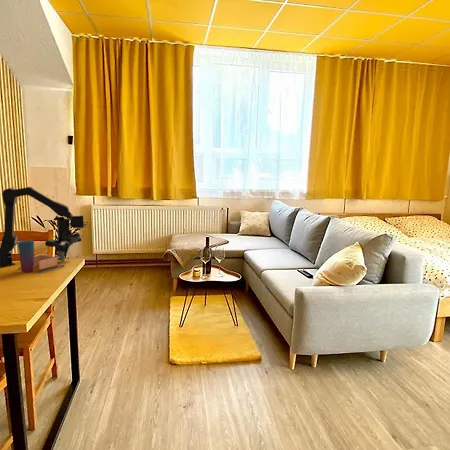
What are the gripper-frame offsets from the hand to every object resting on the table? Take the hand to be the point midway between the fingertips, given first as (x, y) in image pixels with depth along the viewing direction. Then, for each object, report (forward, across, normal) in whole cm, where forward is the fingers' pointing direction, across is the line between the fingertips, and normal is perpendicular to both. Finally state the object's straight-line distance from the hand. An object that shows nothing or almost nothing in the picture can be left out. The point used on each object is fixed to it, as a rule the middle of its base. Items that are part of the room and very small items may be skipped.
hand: (64, 256), depth 182 cm
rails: (+3, -14, 0) cm, 14 cm away
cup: (+3, -21, 0) cm, 22 cm away
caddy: (+2, -10, 0) cm, 11 cm away
